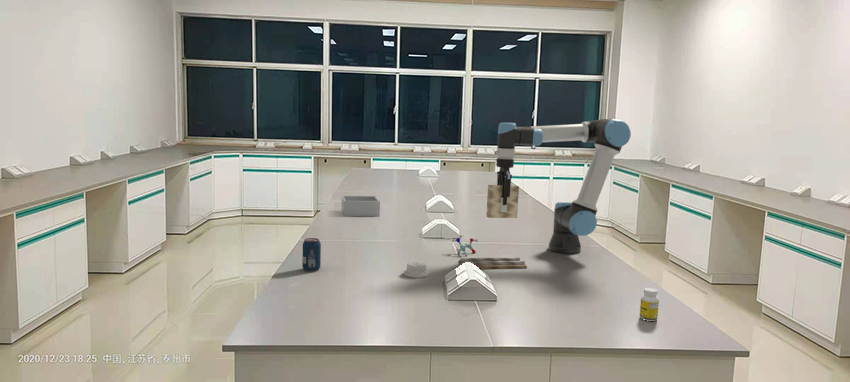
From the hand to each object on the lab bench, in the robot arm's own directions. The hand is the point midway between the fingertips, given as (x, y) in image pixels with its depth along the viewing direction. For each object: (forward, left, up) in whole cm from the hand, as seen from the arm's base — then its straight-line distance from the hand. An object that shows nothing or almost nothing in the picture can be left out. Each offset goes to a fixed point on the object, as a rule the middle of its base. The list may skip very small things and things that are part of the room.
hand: (502, 211), depth 270 cm
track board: (+8, +14, -21) cm, 26 cm away
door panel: (0, 0, -3) cm, 3 cm away
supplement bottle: (-22, +84, -21) cm, 89 cm away
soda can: (+83, +18, -21) cm, 87 cm away
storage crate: (+52, -112, -21) cm, 125 cm away
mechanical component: (+43, +27, -21) cm, 54 cm away
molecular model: (+15, -7, -21) cm, 27 cm away
